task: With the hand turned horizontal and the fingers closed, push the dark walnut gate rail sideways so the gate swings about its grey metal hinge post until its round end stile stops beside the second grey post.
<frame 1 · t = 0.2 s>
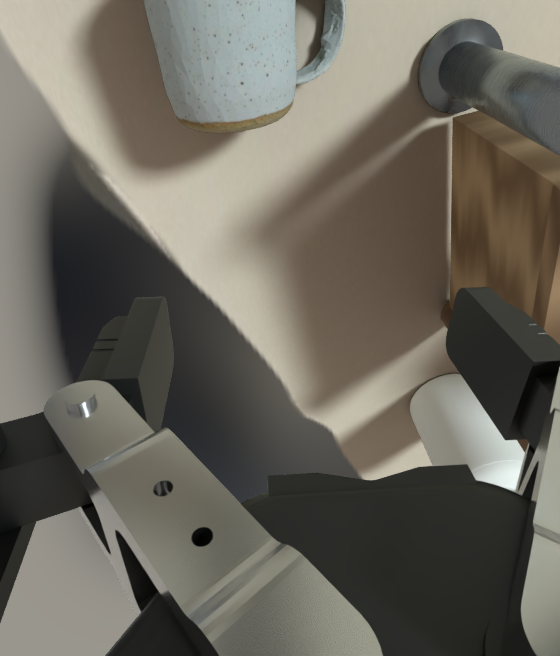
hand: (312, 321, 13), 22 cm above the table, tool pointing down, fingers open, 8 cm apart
hinge post: (458, 67, 29), on the table
ceramic mug: (247, 18, 27), on the table
gate: (504, 285, 30), point 8 cm above the table, hinge at 0.0°
pill bottle: (443, 396, 49), on the table
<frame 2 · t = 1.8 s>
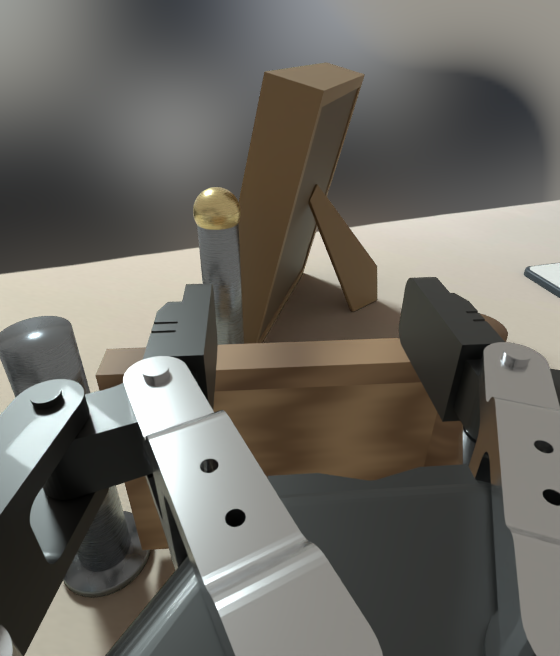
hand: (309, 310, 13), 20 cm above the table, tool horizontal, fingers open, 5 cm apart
hinge post: (107, 553, 28), on the table
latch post: (229, 388, 42), on the table
gate: (301, 447, 24), point 8 cm above the table, hinge at 0.0°
photo frame: (307, 315, 53), on the table
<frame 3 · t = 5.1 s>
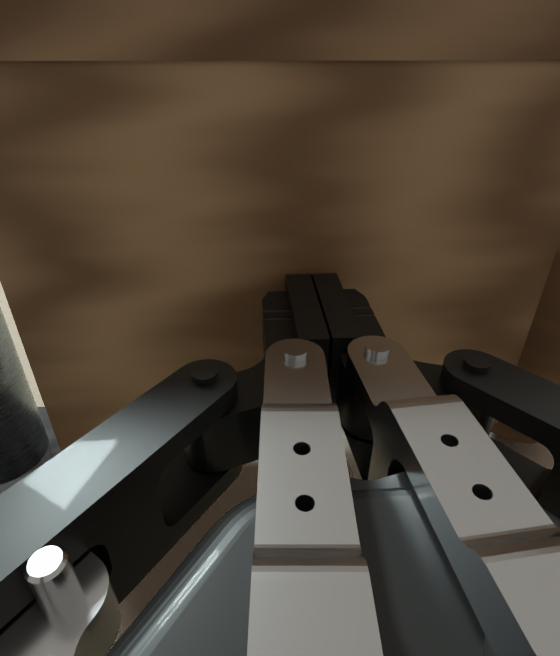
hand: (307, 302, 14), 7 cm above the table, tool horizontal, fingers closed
hinge post: (9, 465, 17), on the table
gate: (330, 249, 14), point 8 cm above the table, hinge at 0.4°, touching gripper
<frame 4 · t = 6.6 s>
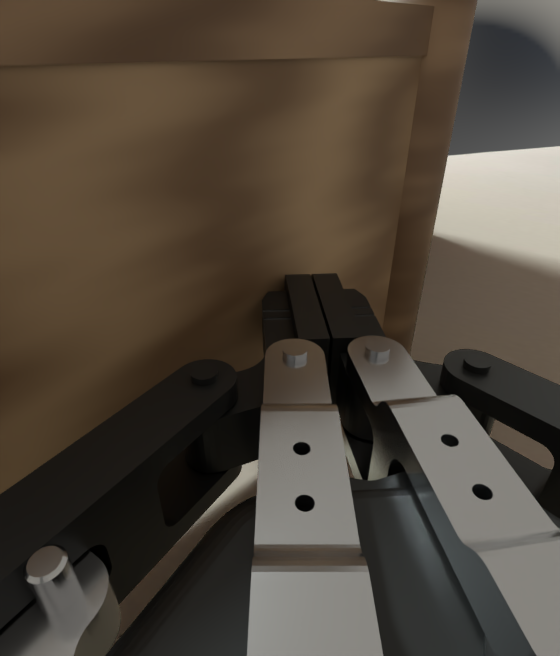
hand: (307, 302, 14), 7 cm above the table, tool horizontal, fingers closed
gate: (238, 261, 13), point 8 cm above the table, hinge at 38.6°, touching gripper
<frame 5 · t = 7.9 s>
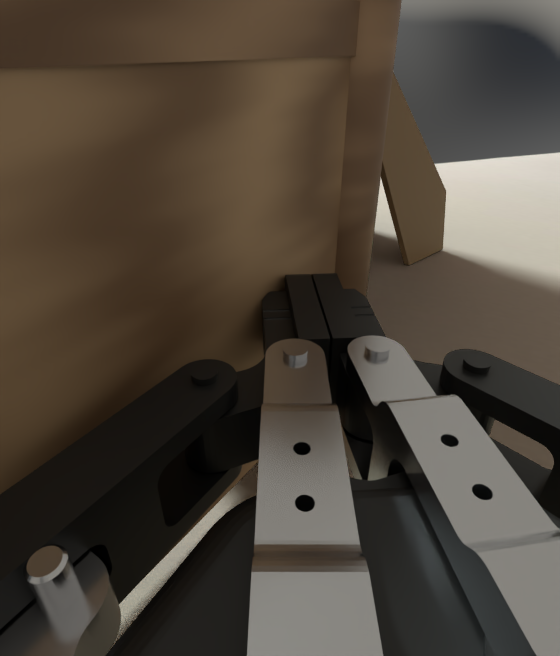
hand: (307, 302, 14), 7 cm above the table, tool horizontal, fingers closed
gate: (167, 302, 11), point 8 cm above the table, hinge at 49.3°, touching gripper
photo frame: (334, 271, 32), on the table
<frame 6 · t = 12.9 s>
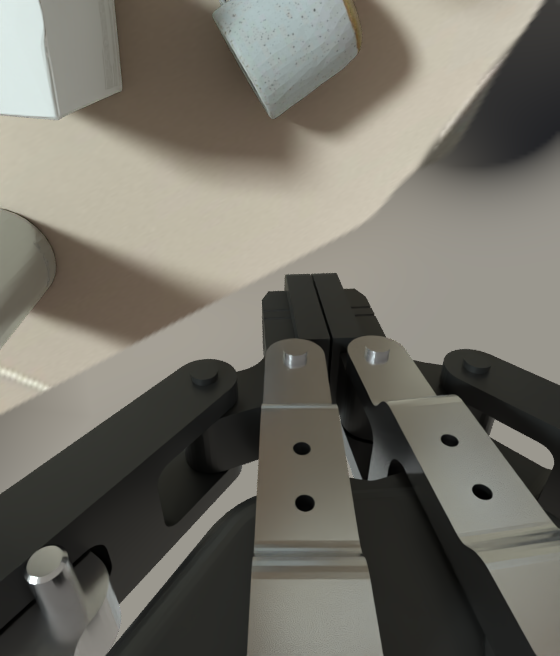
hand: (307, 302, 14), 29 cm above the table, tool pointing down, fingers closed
supplement box: (55, 20, 33), on the table
ceramic mug: (272, 21, 34), on the table
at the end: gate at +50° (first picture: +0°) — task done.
